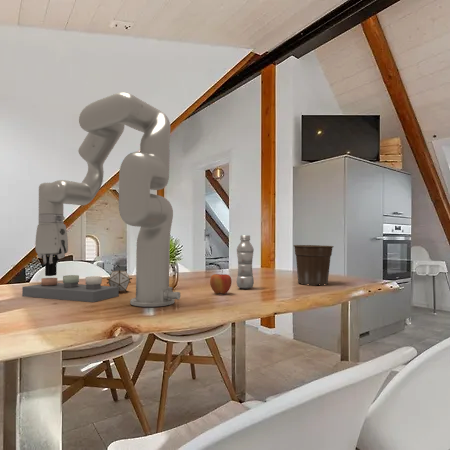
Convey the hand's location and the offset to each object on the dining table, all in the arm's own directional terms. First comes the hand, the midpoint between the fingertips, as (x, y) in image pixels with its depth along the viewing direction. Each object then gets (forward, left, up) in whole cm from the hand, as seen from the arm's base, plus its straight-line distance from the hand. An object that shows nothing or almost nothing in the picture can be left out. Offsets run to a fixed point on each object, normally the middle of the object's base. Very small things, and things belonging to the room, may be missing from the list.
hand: (50, 275), depth 122 cm
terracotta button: (+1, 0, -6) cm, 6 cm away
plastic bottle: (-55, -38, -7) cm, 68 cm away
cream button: (-17, 0, -4) cm, 18 cm away
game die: (-17, -13, -7) cm, 23 cm away
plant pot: (-77, -63, -7) cm, 100 cm away
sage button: (-8, 0, -4) cm, 9 cm away
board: (-8, 0, -6) cm, 11 cm away
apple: (-51, -23, -7) cm, 57 cm away
